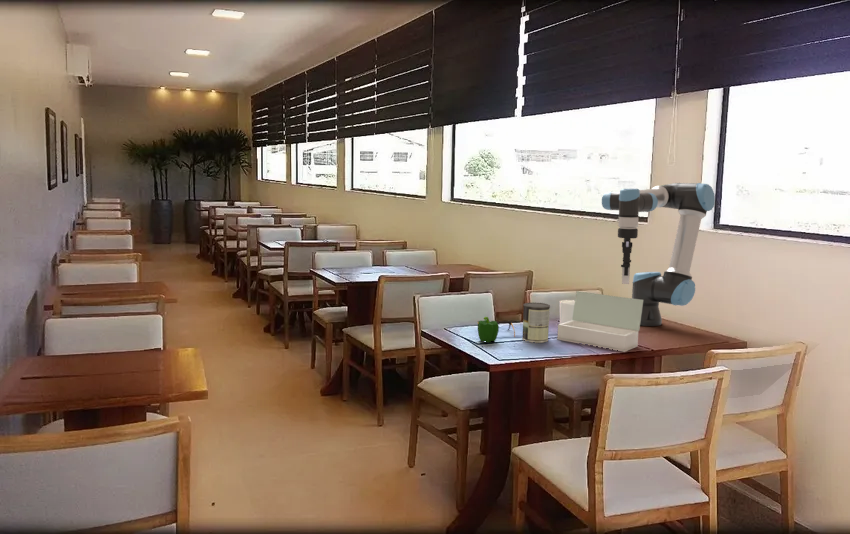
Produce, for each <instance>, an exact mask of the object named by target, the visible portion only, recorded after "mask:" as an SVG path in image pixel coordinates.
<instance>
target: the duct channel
mask: <svg viewBox="0 0 850 534" xmlns="http://www.w3.org/2000/svg"><path fill="white" fill-rule="evenodd" d="M556 338H557V340H559V341H563V342H569V343H575V344H579V343H582V344H581V345H585V344H588V345H587V346H590V345H593V346H592V347H596V346H598V348H601V347H603V349H606V348H609V349H608V350H612V349H613V351H617V350H618V351H619V352H624V353H625V352H627V351H630V350H632V349H634V348H637V347H638V345H639V344H638V343H639V331H636V330H630V329H624V328H618V327H612V326H606V325H600V324H593V323H587V322H580V321H574V320H572V321H568V322H565V323H562V324H560V323H559V324H557V337H556Z"/></svg>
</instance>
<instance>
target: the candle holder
mask: <svg viewBox="0 0 850 534" xmlns="http://www.w3.org/2000/svg"><path fill="white" fill-rule="evenodd" d="M574 304H575V299H562V300H561V299H560V300H559V324H562V323H565V322H568V321H572V319H573V312H574ZM574 321H575V320H574ZM580 322H581V321H580Z"/></svg>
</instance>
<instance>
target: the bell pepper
mask: <svg viewBox="0 0 850 534" xmlns="http://www.w3.org/2000/svg"><path fill="white" fill-rule="evenodd" d="M478 321H479V322H478ZM478 321H477V333H478V338H479V340H480V341H481V342H482V341H486V342H488V343H492V342H491V341H494V342H495V341H496V340H497V338H498V333H499V327H500V326H499V324H498V323H497V322H498V321H497V320H491V321H490V318H489V317H488V316H484V317H483V320H478ZM486 342H485V343H486Z"/></svg>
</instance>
